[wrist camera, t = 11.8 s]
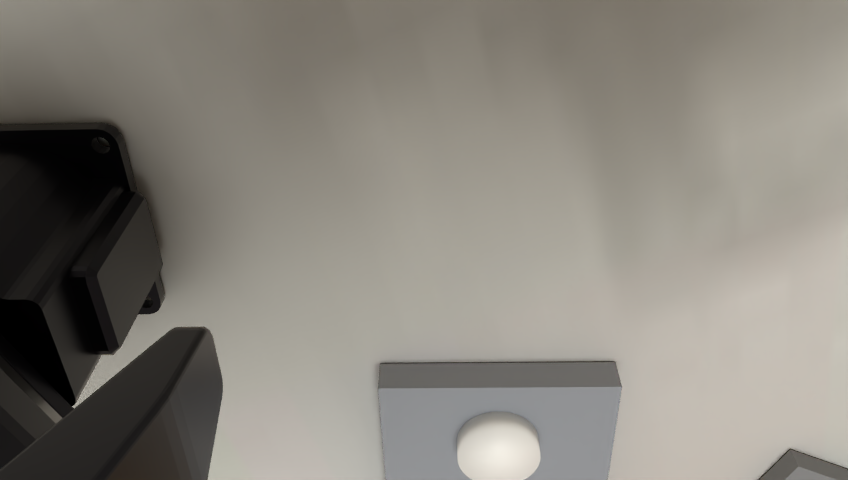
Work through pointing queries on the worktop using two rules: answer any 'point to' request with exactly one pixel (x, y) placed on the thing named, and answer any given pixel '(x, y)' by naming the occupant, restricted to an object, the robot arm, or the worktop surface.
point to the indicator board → (498, 420)
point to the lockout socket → (804, 469)
